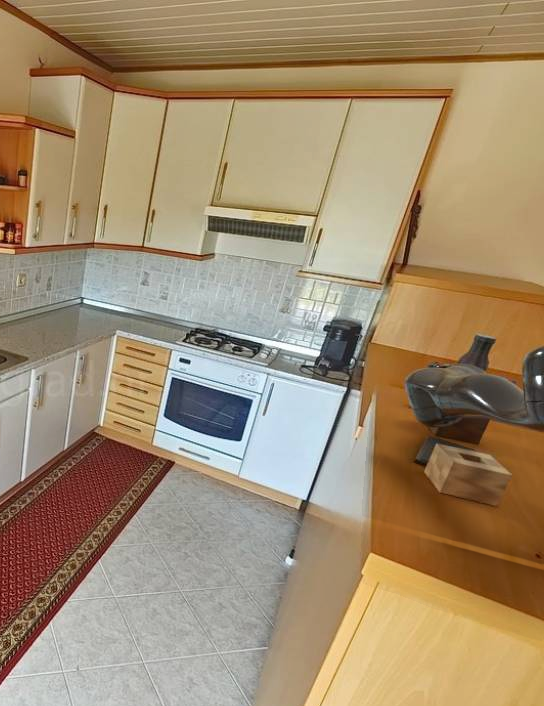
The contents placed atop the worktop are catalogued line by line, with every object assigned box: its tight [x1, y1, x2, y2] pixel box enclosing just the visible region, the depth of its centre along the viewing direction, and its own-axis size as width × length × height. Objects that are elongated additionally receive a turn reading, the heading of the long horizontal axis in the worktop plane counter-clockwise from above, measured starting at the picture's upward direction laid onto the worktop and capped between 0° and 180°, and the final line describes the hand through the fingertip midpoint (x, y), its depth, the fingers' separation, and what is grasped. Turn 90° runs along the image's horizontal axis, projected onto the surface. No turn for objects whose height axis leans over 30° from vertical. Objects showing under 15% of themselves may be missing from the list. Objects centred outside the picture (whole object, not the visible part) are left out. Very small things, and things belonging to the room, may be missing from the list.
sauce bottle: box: [456, 333, 497, 373], centre depth 125 cm, size 7×6×20 cm
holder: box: [426, 418, 491, 445], centre depth 110 cm, size 8×8×6 cm
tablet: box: [413, 435, 495, 467], centre depth 97 cm, size 18×11×1 cm, turn 135°
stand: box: [423, 443, 513, 507], centre depth 85 cm, size 8×8×6 cm
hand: (477, 374), depth 107 cm, fingers open, 8 cm apart
